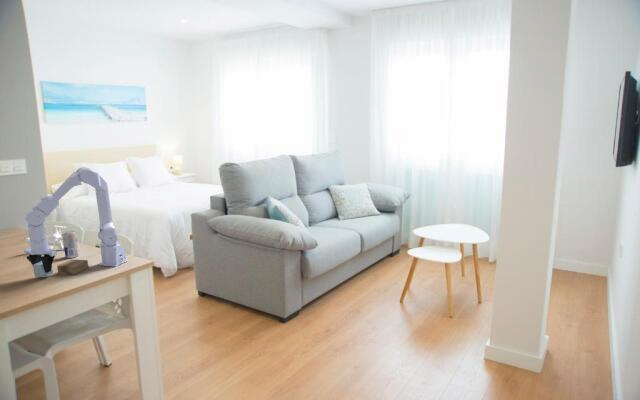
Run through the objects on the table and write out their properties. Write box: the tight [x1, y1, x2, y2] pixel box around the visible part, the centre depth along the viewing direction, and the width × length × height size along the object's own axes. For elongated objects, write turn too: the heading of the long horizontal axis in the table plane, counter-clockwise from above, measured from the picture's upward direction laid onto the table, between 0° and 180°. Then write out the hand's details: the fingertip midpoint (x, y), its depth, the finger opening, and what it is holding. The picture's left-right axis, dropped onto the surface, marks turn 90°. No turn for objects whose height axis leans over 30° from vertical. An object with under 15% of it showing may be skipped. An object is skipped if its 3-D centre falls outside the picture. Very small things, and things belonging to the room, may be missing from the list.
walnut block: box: [56, 258, 89, 276], centre depth 183 cm, size 8×8×4 cm
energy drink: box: [61, 230, 79, 259], centre depth 202 cm, size 5×5×12 cm
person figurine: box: [25, 225, 68, 251], centre depth 212 cm, size 13×13×18 cm
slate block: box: [32, 261, 54, 278], centre depth 175 cm, size 4×4×5 cm
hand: (43, 271), depth 176 cm, fingers closed on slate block, 4 cm apart
